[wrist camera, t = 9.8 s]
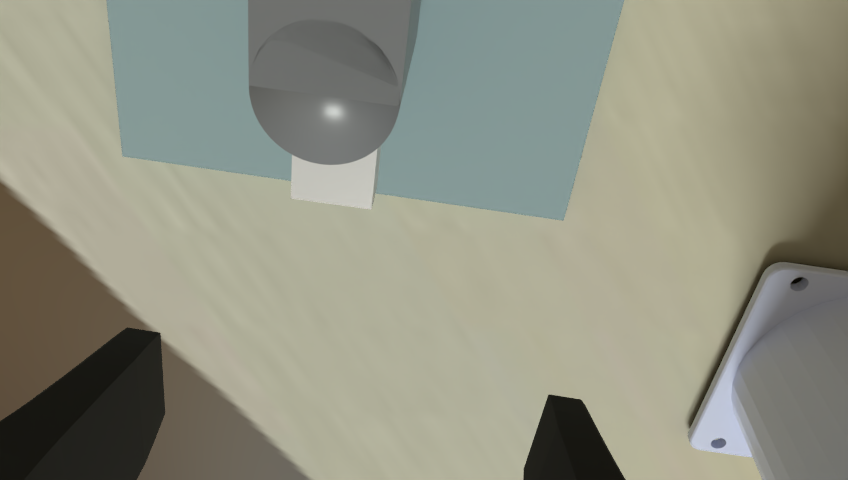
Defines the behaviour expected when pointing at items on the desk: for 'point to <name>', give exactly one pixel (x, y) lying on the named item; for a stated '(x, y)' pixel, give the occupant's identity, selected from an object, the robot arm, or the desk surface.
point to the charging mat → (420, 107)
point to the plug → (330, 88)
